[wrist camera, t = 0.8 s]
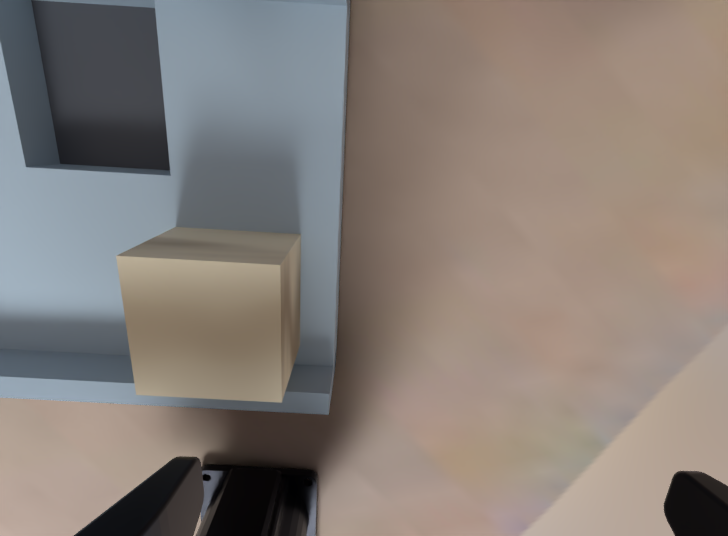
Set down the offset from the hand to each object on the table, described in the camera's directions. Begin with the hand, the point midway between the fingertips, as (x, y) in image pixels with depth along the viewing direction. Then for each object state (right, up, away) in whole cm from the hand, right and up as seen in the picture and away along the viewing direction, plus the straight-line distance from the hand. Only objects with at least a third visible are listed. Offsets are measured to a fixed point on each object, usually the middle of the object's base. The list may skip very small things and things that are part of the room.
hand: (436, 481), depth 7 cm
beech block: (-7, +3, +9) cm, 12 cm away
